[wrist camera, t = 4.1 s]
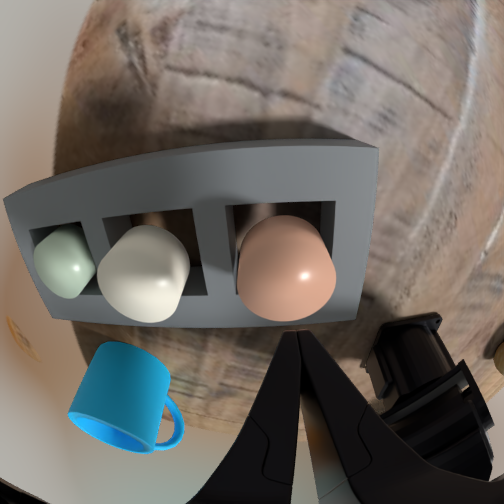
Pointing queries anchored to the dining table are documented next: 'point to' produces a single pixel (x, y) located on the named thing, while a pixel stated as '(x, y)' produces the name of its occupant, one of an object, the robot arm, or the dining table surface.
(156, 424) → the mug
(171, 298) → the cream button
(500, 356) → the bread roll
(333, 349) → the dining table surface
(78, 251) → the sage button
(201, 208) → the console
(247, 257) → the terracotta button
